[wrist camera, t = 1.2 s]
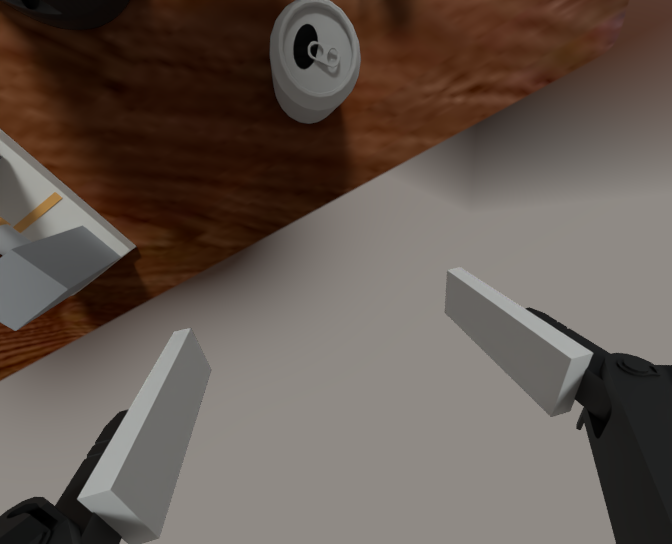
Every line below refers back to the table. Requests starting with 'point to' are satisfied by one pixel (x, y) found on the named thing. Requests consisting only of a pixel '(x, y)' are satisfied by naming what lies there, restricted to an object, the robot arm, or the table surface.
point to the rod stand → (46, 238)
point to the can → (313, 59)
